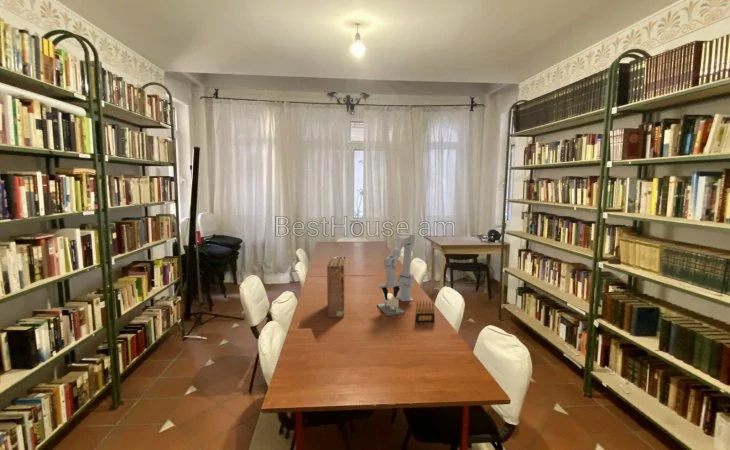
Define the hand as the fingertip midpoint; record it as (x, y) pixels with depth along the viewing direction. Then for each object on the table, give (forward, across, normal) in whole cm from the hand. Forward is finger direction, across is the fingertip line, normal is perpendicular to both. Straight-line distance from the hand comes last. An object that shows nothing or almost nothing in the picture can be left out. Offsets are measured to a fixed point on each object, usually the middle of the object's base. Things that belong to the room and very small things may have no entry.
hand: (390, 299), depth 229 cm
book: (+7, -32, +8) cm, 33 cm away
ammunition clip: (+7, +12, -24) cm, 27 cm away
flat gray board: (+7, 0, 0) cm, 7 cm away
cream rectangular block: (+2, 0, 0) cm, 2 cm away
